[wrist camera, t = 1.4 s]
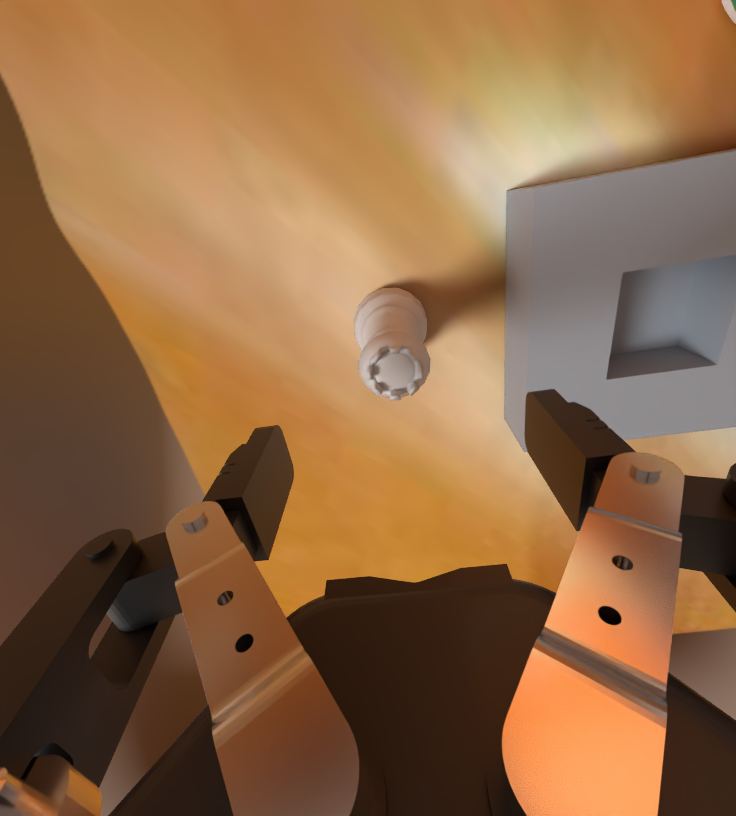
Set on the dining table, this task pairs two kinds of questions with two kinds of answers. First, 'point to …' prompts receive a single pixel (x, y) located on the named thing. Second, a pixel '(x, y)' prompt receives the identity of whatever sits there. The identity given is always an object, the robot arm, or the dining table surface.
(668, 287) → the socket block
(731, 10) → the supplement bottle
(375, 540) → the dining table surface
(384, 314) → the rook chess piece
